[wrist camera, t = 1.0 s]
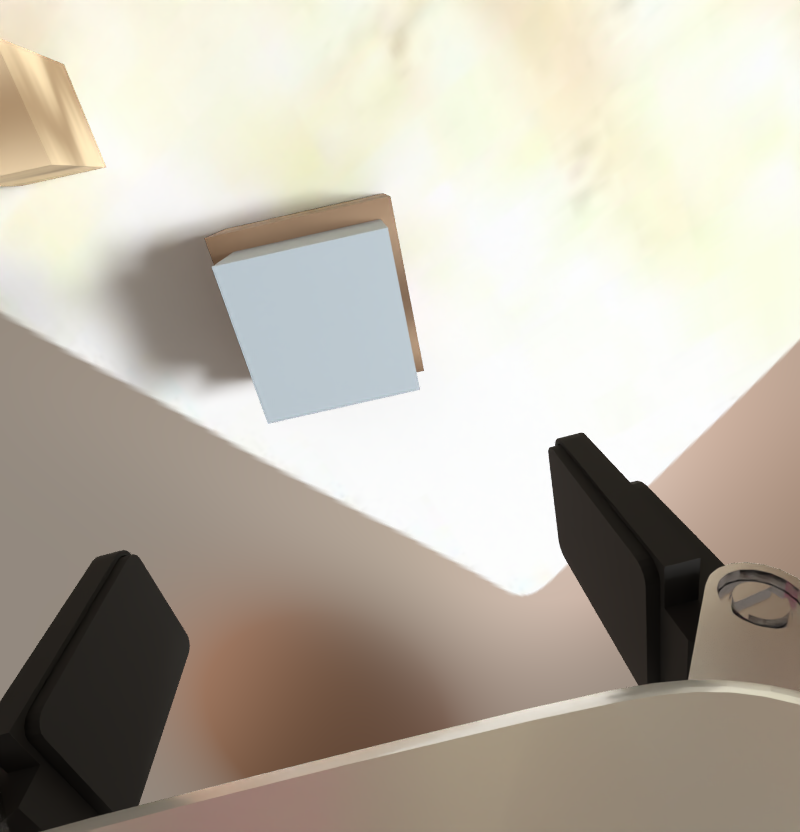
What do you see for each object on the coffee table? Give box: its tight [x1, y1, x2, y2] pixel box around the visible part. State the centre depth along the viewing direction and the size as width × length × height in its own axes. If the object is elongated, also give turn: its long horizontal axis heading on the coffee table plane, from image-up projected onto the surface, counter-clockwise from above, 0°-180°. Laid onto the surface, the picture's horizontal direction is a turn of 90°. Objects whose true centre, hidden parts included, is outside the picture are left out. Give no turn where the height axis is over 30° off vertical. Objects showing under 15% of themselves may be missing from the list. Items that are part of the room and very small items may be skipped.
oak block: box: [0, 39, 106, 186], centre depth 25 cm, size 5×5×6 cm
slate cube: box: [212, 219, 420, 424], centre depth 26 cm, size 8×8×5 cm
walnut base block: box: [204, 193, 424, 372], centre depth 31 cm, size 10×10×6 cm
